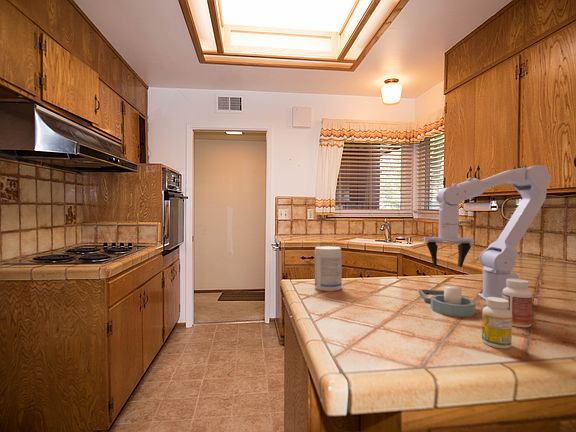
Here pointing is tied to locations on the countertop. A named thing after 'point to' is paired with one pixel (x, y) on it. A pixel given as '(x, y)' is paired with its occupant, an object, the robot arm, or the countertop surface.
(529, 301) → the pill bottle
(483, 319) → the supplement bottle
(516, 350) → the countertop surface
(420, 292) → the empty gray rectangular frame
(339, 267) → the supplement tub
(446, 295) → the pestle
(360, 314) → the countertop surface
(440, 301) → the bowl
